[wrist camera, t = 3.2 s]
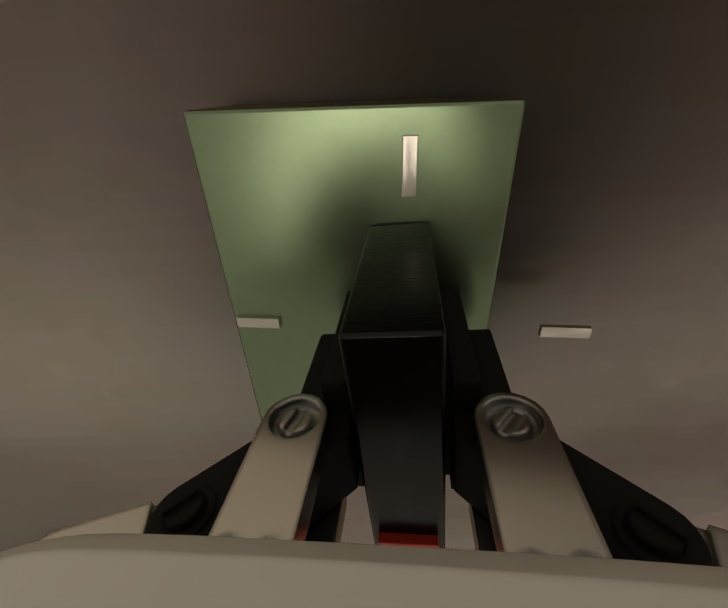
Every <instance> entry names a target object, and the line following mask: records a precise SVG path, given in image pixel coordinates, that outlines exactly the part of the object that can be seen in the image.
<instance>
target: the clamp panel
mask: <svg viewBox="0 0 728 608" xmlns="http://www.w3.org/2000/svg"><path fill="white" fill-rule="evenodd" d="M525 104H526V103H525V100H523V99H517V98H509V97H500V96H482V97H453V98H425V99H397V100H369V101H341V102H313V103H285V104H256V105H232V106H223V107H214V108H205V109H196V110H187V111H185V112H184V114H183V115H184V119H185V123H186V127H187V131H188V135H189V139H190V143H191V147H192V151H193V155H194V158H195V162H196V166H197V170H198V174H199V178H200V182H201V186H202V190H203V194H204V198H205V202H206V205H207V209H208V213H209V217H210V221H211V225H212V229H213V233H214V237H215V241H216V245H217V249H218V252H219V256H220V260H221V264H222V268H223V272H224V276H225V280H226V284H227V288H228V292H229V296H230V299H231V303H232V307H233V311H234V315H235V319H236V323H237V327H238V331H239V335H240V339H241V343H242V346H243V350H244V354H245V358H246V362H247V366H248V370H249V374H250V378H251V382H252V386H253V390H254V393H255V397H256V401H257V405H258V409H259V413H260V417H261V421H262V419H263V417H264V415H265V414H266V412H267V411H268V409H269V408H270V407H271V406H272V405H274V404H275V403H276V402H278V401H279V400H281V399H283V398H285V397H288V396H291V395H294V394H301V391H302V388H303V385H304V383H305V380H306V377H307V374H308V371H309V368H310V365H311V363H312V360H313V357H314V354H315V351H316V348H317V345H318V343H319V340H320V337H321V335H323V334H335V332H336V329H337V325H338V322H339V319H340V315H341V312H342V308H343V305H344V302H345V298H346V295H347V292H348V291H351V290H352V286H353V283H354V279H355V275H356V272H357V268H358V265H359V261H360V258H361V254H362V250H363V247H364V243H365V240H366V236H367V233H368V229H369V227H371V226H383V225H397V224H411V223H425V222H427V223H429V225H430V231H431V238H432V244H433V251H434V257H435V264H436V271H437V277H438V284H439V287H442V286H458V288H459V292H460V296H461V300H462V304H463V308H464V312H465V316H466V320H467V324H468V328H469V330H476V329H488V323H489V317H490V311H491V305H492V299H493V293H494V287H495V282H496V276H497V270H498V264H499V258H500V252H501V246H502V240H503V234H504V228H505V222H506V216H507V211H508V205H509V199H510V193H511V187H512V181H513V175H514V169H515V163H516V157H517V151H518V145H519V140H520V134H521V128H522V122H523V116H524V110H525ZM592 329H593V328H592V327H591V326H579V325H544V324H541V325H540V328H539V332H538V335H539V337H555V338H586V339H589V338H590V335H591V332H592Z"/></svg>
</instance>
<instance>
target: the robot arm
mask: <svg viewBox="0 0 728 608" xmlns="http://www.w3.org/2000/svg"><path fill="white" fill-rule="evenodd" d="M439 290H440V297H441V304H442V310H443V317H444V324H445V330H446V454H445V475H450V480H451V489H454V491H456V492H457V493H458V494H459V495H460V496H461V497H462V498H464V499H465V500H466V501H467V502H468V503H469V512H470V518H471V525H472V531H473V537H474V543H475V549H476V550H462V549H444V548H426V547H409V546H391V545H372V544H354V543H340V541H341V535H342V529H343V523H344V517H345V511H346V505H347V496H348V495H349V494H350V493H351V492H353V491H354V490H355V489H356V488H357V487H358V486H364V479H363V474H362V468H361V462H360V457H359V451H358V446H357V440H356V434H355V429H354V423H353V417H352V412H351V406H350V400H349V395H348V389H347V384H346V378H345V372H344V367H343V361H342V355H341V350H340V344H339V339H338V336H339V333H340V329H341V325H342V322H343V318H344V315H345V311H346V308H347V304H348V300H349V297H350V293H351V291H348V292H347V295H346V298H345V302H344V305H343V308H342V312H341V315H340V319H339V322H338V325H337V329H336V332H335V334H323V335H321V337H320V340H319V343H318V345H317V348H316V351H315V354H314V357H313V360H312V363H311V365H310V368H309V371H308V374H307V377H306V380H305V383H304V385H303V388H302V391H301V394H294V395H291V396H288V397H285V398H283V399H281V400H279V401H278V402H276V403H275V404H274V405H272V406H271V407H270V408H269V409H268V411H267V412H266V414H265V415H264V417H263V419H262V421H261V423H260V425H259V427H258V430H257V432H256V434H255V436H254V438H253V440H252V441H251V442H249V443H248V444H246V445H245V446H243V447H241V448H240V449H238V450H237V451H235V452H233V453H232V454H230V455H229V456H227V457H225V458H224V459H222V460H221V461H219V462H217V463H216V464H214V465H213V466H211V467H209V468H208V469H206V470H205V471H203V472H201V473H200V474H198V475H197V476H195V477H193V478H192V479H190V480H189V481H187V482H185V483H184V484H182V485H181V486H179V487H177V488H176V489H175V490H173V491H172V492H171V493H170V494H168V495H167V496H166V497H165V498H164V499H163V500H162V501H161V502H160V503H159V505H157V506H154V505H153V503H152V502H148V503H145V504H142V505H138V506H135V507H132V508H128V509H125V510H122V511H119V512H115V513H112V514H109V515H105V516H102V517H99V518H95V519H92V520H89V521H85V522H82V523H79V524H75V525H72V526H69V527H65V528H62V529H59V530H57V531H54V532H52V533H50V534H48V535H45V536H44V537H43V538H41V539H40V540H38V541H37V542H33V543H29V544H24V545H20V546H17V547H14V548H11V549H8V550H5V551H2V552H0V608H728V531H727V530H724V529H721V528H718V527H715V526H712V525H709V526H708V527H707V529H706V530H703V529H700V528H697V527H695V526H694V525H693V524H692V523H691V522H690V521H689V520H688V519H687V518H686V517H685V516H684V515H682V514H681V513H679V512H678V511H677V510H675V509H674V508H672V507H671V506H670V505H668V504H666V503H665V502H663V501H661V500H660V499H658V498H656V497H655V496H653V495H651V494H650V493H648V492H646V491H644V490H643V489H641V488H639V487H638V486H636V485H634V484H633V483H631V482H629V481H628V480H626V479H624V478H623V477H621V476H619V475H618V474H616V473H614V472H612V471H611V470H609V469H607V468H606V467H604V466H602V465H601V464H599V463H597V462H596V461H594V460H592V459H591V458H589V457H587V456H586V455H584V454H582V453H581V452H579V451H577V450H575V449H574V448H572V447H570V446H569V445H567V444H565V443H564V442H562V441H560V440H559V438H558V435H557V433H556V431H555V429H554V427H553V424H552V422H551V420H550V418H549V416H548V415H547V413H546V412H545V410H544V409H543V408H542V407H541V406H539V405H538V404H537V403H536V402H534V401H533V400H531V399H529V398H527V397H525V396H522V395H518V394H515V393H511V391H510V388H509V385H508V382H507V379H506V376H505V373H504V370H503V367H502V364H501V361H500V358H499V355H498V352H497V349H496V346H495V343H494V340H493V337H492V334H491V331H490V330H489V329H476V330H469V328H468V324H467V320H466V316H465V312H464V308H463V304H462V300H461V296H460V292H459V288H458V286H442V287H439Z"/></svg>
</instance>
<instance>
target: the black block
mask: <svg viewBox="0 0 728 608" xmlns="http://www.w3.org/2000/svg"><path fill="white" fill-rule="evenodd" d="M338 339H339V344H340V350H341V355H342V361H343V367H344V372H345V378H346V384H347V389H348V395H349V400H350V406H351V412H352V417H353V423H354V429H355V434H356V440H357V446H358V451H359V457H360V462H361V468H362V474H363V479H364V485H365V491H366V496H367V502H368V507H369V513H370V519H371V524H372V530H373V536H374V541H375V545H391V546H409V547H426V548H444V549H445V454H446V330H445V324H444V317H443V310H442V304H441V297H440V290H439V284H438V277H437V271H436V264H435V257H434V251H433V244H432V238H431V231H430V225H429V223H427V222H425V223H411V224H397V225H383V226H371V227H369V229H368V233H367V236H366V240H365V243H364V247H363V250H362V254H361V258H360V261H359V265H358V268H357V272H356V275H355V279H354V283H353V286H352V290H351V293H350V297H349V300H348V304H347V308H346V311H345V315H344V318H343V322H342V325H341V329H340V333H339V336H338Z"/></svg>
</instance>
